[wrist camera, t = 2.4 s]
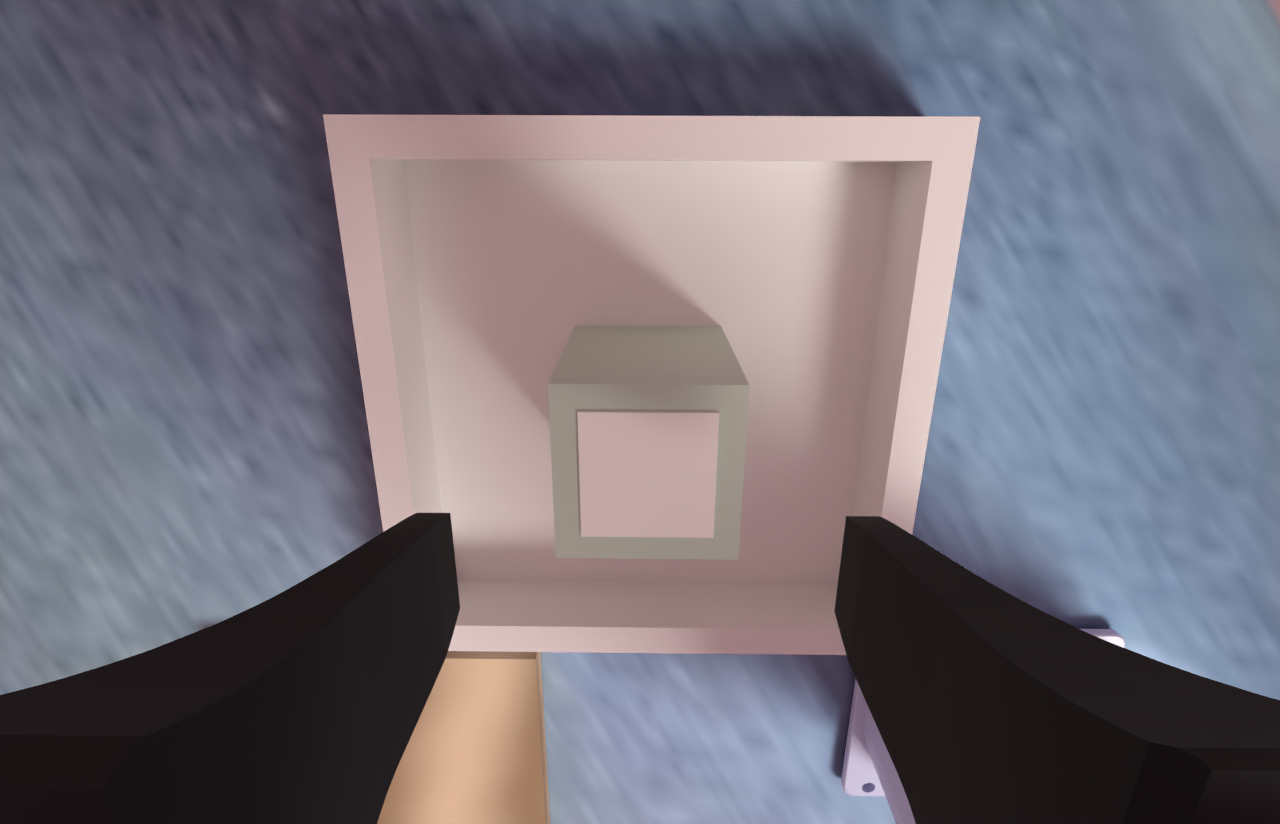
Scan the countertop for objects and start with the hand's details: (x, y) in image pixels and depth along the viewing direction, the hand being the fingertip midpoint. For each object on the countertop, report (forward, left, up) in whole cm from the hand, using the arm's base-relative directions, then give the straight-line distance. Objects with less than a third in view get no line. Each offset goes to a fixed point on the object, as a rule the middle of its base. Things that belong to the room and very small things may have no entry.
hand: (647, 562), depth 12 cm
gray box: (0, 0, -10) cm, 10 cm away
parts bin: (0, 0, -10) cm, 10 cm away
